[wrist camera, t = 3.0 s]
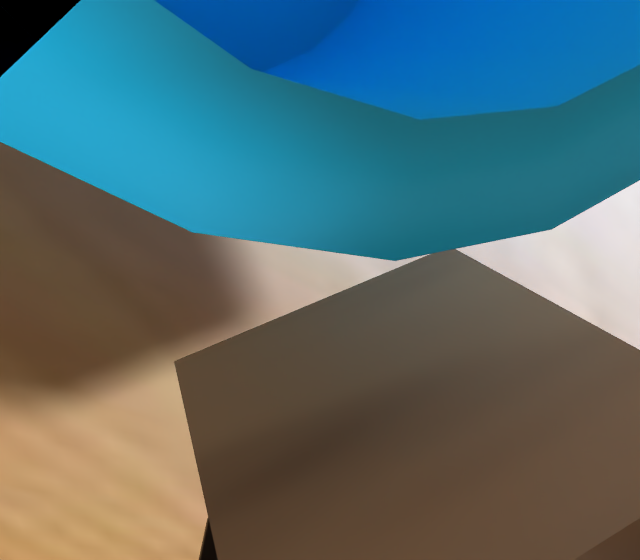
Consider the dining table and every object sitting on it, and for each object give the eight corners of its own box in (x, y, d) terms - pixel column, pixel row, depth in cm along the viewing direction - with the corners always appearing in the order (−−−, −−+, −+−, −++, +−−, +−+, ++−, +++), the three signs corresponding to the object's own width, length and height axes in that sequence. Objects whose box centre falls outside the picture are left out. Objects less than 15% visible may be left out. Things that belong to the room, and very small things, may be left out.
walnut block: (471, 441, 11) (699, 681, 7) (265, 550, 10) (384, 920, 6) (449, 246, 9) (781, 427, 4) (174, 361, 7) (261, 756, 3)
